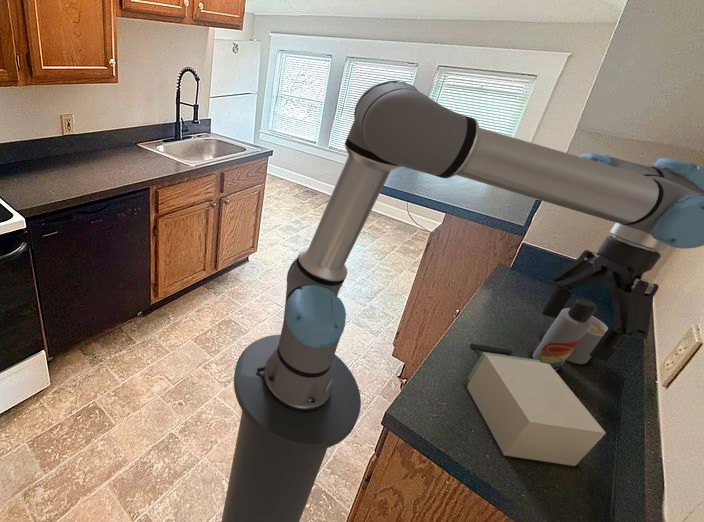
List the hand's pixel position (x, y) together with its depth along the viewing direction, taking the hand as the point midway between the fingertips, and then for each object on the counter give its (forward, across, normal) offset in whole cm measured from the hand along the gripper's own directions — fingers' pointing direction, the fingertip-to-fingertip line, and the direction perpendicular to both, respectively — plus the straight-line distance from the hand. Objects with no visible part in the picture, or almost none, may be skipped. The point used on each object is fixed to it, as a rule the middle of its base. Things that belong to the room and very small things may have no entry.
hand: (571, 335), depth 77 cm
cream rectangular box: (+21, -4, +3) cm, 22 cm away
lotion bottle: (+17, +16, -14) cm, 27 cm away
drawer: (+20, +1, +4) cm, 20 cm away
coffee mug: (+15, +24, -23) cm, 36 cm away
